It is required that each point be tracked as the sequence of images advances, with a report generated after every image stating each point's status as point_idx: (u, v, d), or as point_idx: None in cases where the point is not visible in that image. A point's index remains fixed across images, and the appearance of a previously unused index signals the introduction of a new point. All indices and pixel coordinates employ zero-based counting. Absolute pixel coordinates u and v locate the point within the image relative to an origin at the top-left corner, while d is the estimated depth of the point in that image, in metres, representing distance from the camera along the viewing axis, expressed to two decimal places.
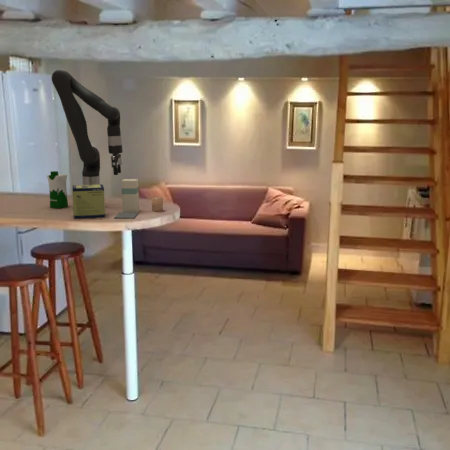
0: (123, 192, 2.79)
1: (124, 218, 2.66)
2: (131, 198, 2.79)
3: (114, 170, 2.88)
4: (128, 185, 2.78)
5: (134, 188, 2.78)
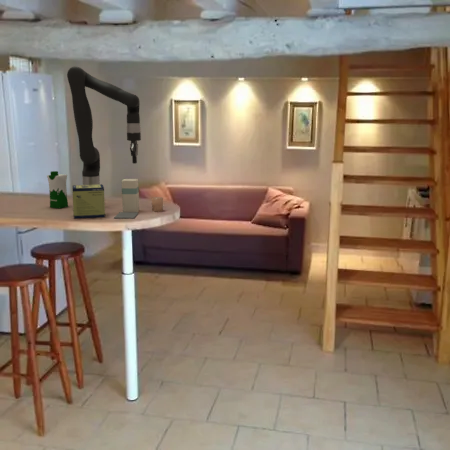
0: (123, 192, 2.79)
1: (124, 218, 2.66)
2: (131, 198, 2.79)
3: (133, 158, 2.93)
4: (128, 185, 2.78)
5: (134, 188, 2.78)
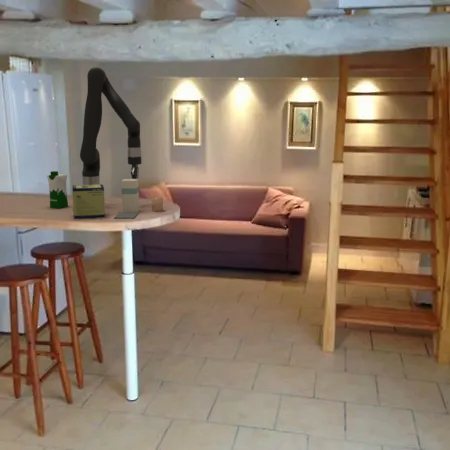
0: (123, 192, 2.79)
1: (124, 218, 2.66)
2: (131, 198, 2.79)
3: None
4: (128, 185, 2.78)
5: (134, 188, 2.78)
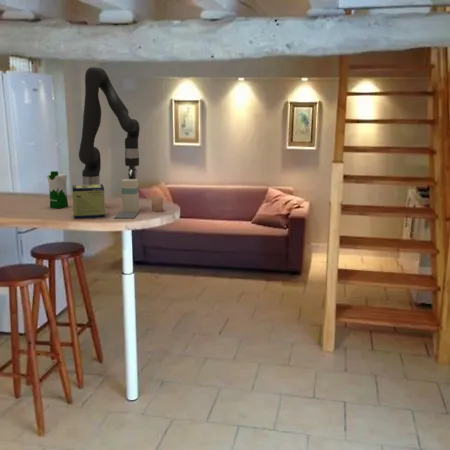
0: (123, 192, 2.79)
1: (124, 218, 2.66)
2: (131, 198, 2.79)
3: None
4: (128, 185, 2.78)
5: (134, 188, 2.78)
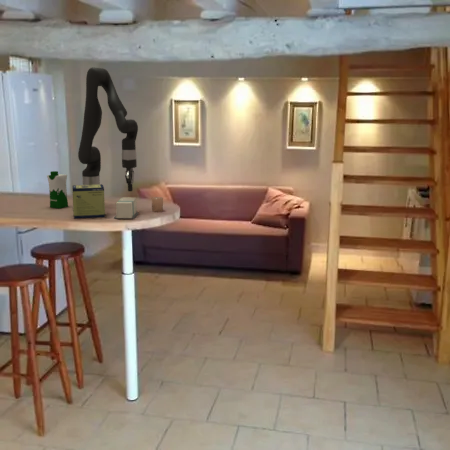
0: None
1: (124, 218, 2.66)
2: None
3: (129, 186, 2.80)
4: None
5: None
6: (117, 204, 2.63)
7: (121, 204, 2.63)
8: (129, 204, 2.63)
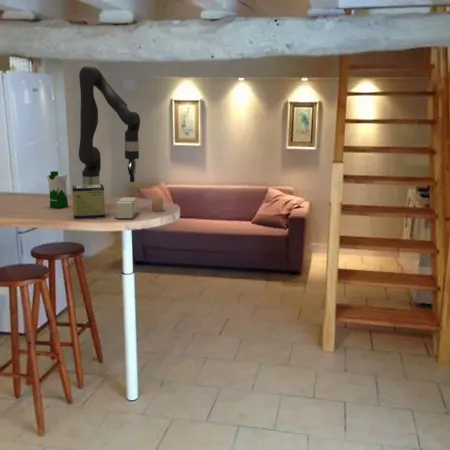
0: None
1: (124, 218, 2.66)
2: None
3: (131, 177, 2.86)
4: None
5: None
6: (117, 204, 2.63)
7: (121, 204, 2.63)
8: (129, 204, 2.63)
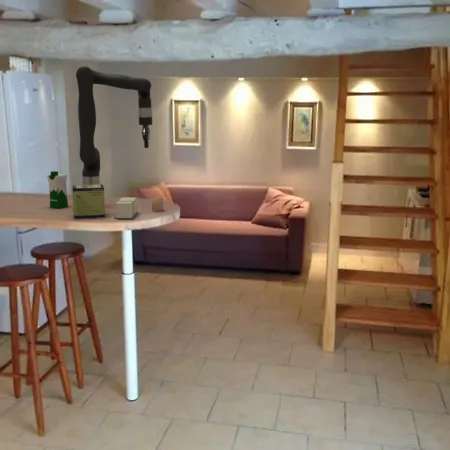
0: None
1: (124, 218, 2.66)
2: None
3: (145, 143, 2.96)
4: None
5: None
6: (117, 204, 2.63)
7: (121, 204, 2.63)
8: (129, 204, 2.63)
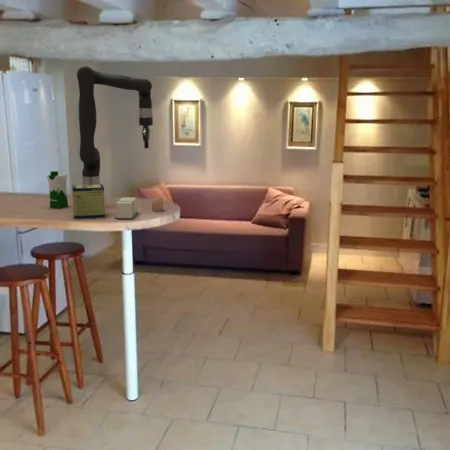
0: None
1: (124, 218, 2.66)
2: None
3: (145, 143, 2.96)
4: None
5: None
6: (117, 204, 2.63)
7: (121, 204, 2.63)
8: (129, 204, 2.63)
